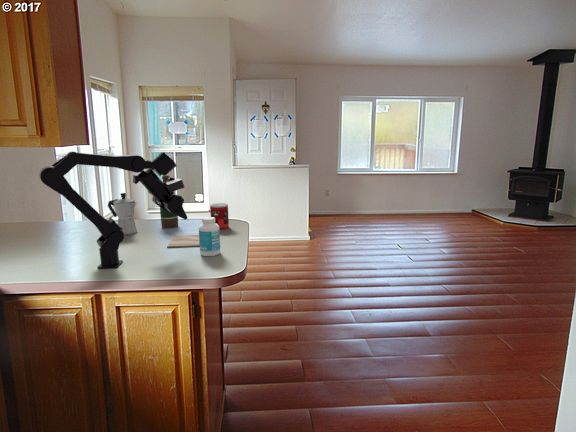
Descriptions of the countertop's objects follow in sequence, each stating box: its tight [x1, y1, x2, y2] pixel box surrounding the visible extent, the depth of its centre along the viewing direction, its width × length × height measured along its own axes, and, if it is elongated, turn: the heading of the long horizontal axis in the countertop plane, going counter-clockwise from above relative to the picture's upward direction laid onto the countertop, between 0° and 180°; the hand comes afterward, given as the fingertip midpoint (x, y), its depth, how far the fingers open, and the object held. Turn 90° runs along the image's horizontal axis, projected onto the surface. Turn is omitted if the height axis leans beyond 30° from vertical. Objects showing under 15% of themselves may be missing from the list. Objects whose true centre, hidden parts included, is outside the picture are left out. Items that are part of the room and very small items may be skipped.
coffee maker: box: [107, 192, 138, 236], centre depth 178 cm, size 15×9×18 cm, turn 74°
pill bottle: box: [198, 216, 221, 257], centre depth 146 cm, size 8×7×14 cm
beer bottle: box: [159, 175, 179, 229], centre depth 188 cm, size 8×8×24 cm
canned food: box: [209, 202, 230, 231], centre depth 185 cm, size 8×8×11 cm
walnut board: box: [166, 234, 200, 249], centre depth 164 cm, size 16×13×1 cm
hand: (182, 216), depth 148 cm, fingers open, 9 cm apart
